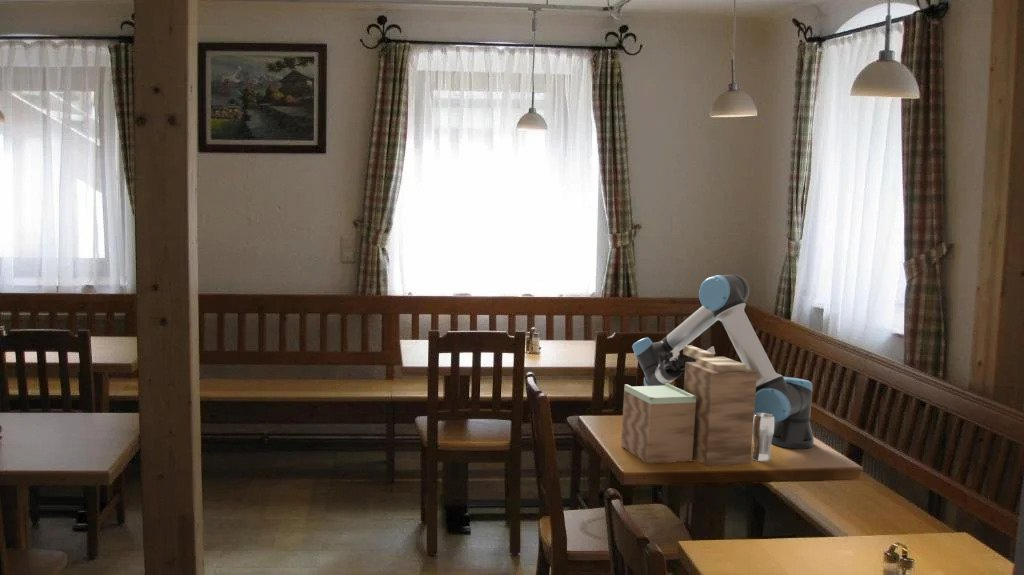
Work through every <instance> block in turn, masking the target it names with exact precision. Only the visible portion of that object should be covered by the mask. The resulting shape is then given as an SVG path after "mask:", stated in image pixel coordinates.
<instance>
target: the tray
mask: <svg viewBox="0 0 1024 575" xmlns="http://www.w3.org/2000/svg"><path fill="white" fill-rule="evenodd" d="M623 390H625V391H627V392H628V393H630V394H632V395H634V396H636V397H638V398H640V399H642V400H644V401H646V402H648V403H650V404H667V403H694V402H696V396H694V395H692V394H690V393H688V392H686V391H684V389H682V388H679V387H676V386H675V385H673V384H671V383H669V384H668V383H665V386H644V385H642V386H641V385H640V386H638V385H636V386H631V385H629V384H627V383H626V384H624V388H623Z"/></svg>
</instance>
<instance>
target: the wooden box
mask: <svg viewBox="0 0 1024 575" xmlns="http://www.w3.org/2000/svg"><path fill="white" fill-rule="evenodd" d="M623 390H624V389H623ZM695 408H696V402H694V403H667V404H650V403H648V402H646V401H644V400H642V399H640V398H638V397H636V396H634V395H632V394H630V393H628V392H627V391H625V390H624V391H623V408H622V426H621V440H620V441H621V444H620V447H621V448H623V449H624V448H625V449H624V450H626V451H627V450H628V452H629V453H630V452H631V453H630V454H632V453H633V454H634V455H633V454H632V455H633V456H635V455H636V456H637V457H636V456H635V457H636V458H638V457H639V459H640V458H641V459H642V460H641V459H640V460H641V461H643V460H644V461H645V462H644V461H643V462H644V463H646V462H647V463H646V464H655V463H654V462H665V463H674V462H673V461H682V462H691V461H690V460H692V461H693V458H692V455H693V439H694V424H695ZM671 461H672V462H671Z"/></svg>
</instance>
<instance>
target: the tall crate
mask: <svg viewBox="0 0 1024 575" xmlns="http://www.w3.org/2000/svg"><path fill="white" fill-rule="evenodd" d="M683 378H684V380H683V381H684V382H683V390H684V391H686V392H688V393H690V394H692V395H694V396H696V408H695V424H694V439H693V455H692V457H693V458H692V459H694V458H695V459H694V460H696V461H697V460H698V461H697V462H699V461H700V462H699V463H701V464H702V463H703V465H705V466H707V467H710V466H726V465H727V466H728V465H729V466H730V465H742V464H744V465H745V464H751V459H752V447H753V446H752V445H753V420H754V406H755V392H756V378H757V372H755V371H753V370H750V369H747V368H746V371H727V372H716V371H714V370H711V369H709V368H706V367H704V366H701V365H699V364H696V362H687V361H686V362H685V369H684V377H683Z"/></svg>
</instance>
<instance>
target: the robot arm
mask: <svg viewBox="0 0 1024 575" xmlns="http://www.w3.org/2000/svg"><path fill="white" fill-rule="evenodd" d="M699 286H700V287H699V291H698V298H699V301H700V304H701V307H699V308H698V309H697V310H696V311H694V312H693V313H692V314H691V315H689V316H688V317H687V318H686V319H685V320H684V321H683V322H681V323H680V324H679V325H678V326H676V328H674V329H673V330H672V331H671V332H669V333H668V334H666V336H665V337H663V338H662V340H661V339H660V341H657V342H653V341H652V340H651V338H649V337H644V338H641V339H639V340H637V341H636V342H634V343H633V344H632V346H631V348H632V350H633V353H634V356H635V357H636V359H637V362H638V364H639V366H640V368H641V370H642V371H643V374H644V377H643V386H665V383H668V384H671V383H672V382H673V381H675V380H676V379H678V378H679V377H681V376H682V375H683V372H684V371H685V362H696V359H694V358H692V357H689V356H687V357H684V358H678V356H680V352H681V351H683V347H684V346H687V345H689V344H690V343H692V342H693V341H694V340H695V339H696V338H698V337H699V336H701V334H703V333H704V332H705V331H706V330H708V329H709V328H710V327H711V326H713V325H714V324H715V323H716V322H717V321H720V322H721V324H722V326H723V327H724V329H725V331H726V333H727V335H728V338H729V339H730V342H731V343H732V345H733V347H734V350H735V352H736V354H737V355H738V357H739V359H740V362H741V363H743V364H745V365H746V368H747V369H750V370H753V371H755V372H757V378H756V392H755V406H754V410H755V412H756V413H759V412H762V413H770V414H773V415H774V416H775V427H774V435H773V439H772V443H771V445H775V446H778V447H782V448H786V449H796V450H797V449H799V450H801V449H809V448H812V447H813V446H814V441H815V440H814V436H813V430H812V427H811V413H812V411H811V410H812V399H813V391H814V390H813V382H811V381H810V380H807V379H802V378H797V377H791V376H789V377H788V376H783V375H782V374H779V373H777V372H776V370H775V369H774V366H773V364H772V363H771V360H770V359H769V357H768V354H767V353H766V350H765V349H764V346H763V345H762V343H761V341H760V339H759V337H758V336H757V333H756V331H755V329H754V327H753V326H752V323H751V321H750V320H749V318H748V315H747V313H746V312H745V308H746V305H747V304H746V301H747V300H748V298H749V294H750V288H749V283H748V282H747V281H746V279H745V278H744V277H743V276H742V275H739V274H736V273H729V274H721V275H720V274H716V275H713V276H710V277H707V278H706V279H705V280H703V281H702V283H701V285H699ZM705 351H708V352H711V353H713V354H714V355H716V351H715V346H710V347H709V348H707V349H706V350H705Z"/></svg>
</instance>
